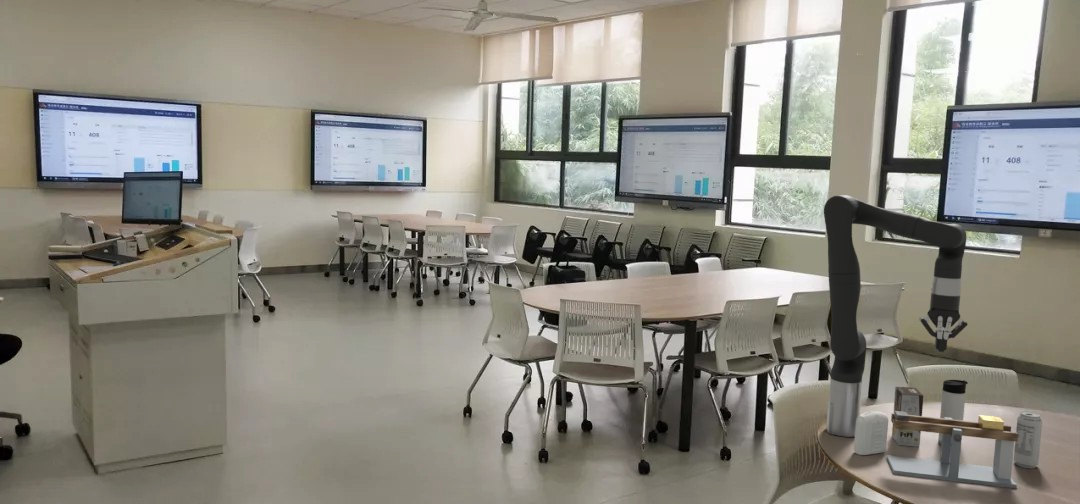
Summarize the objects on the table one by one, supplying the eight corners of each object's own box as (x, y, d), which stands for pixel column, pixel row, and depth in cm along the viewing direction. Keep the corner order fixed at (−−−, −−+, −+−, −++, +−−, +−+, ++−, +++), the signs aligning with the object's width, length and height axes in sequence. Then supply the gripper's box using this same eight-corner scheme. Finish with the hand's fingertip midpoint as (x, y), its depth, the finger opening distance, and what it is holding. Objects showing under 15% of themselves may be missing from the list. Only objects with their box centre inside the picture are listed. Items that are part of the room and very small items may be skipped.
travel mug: (965, 448, 234) (970, 384, 232) (941, 446, 236) (946, 382, 234) (958, 441, 240) (963, 378, 238) (935, 439, 242) (940, 376, 240)
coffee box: (920, 447, 235) (924, 395, 233) (897, 445, 236) (901, 394, 234) (912, 437, 243) (916, 387, 242) (890, 435, 245) (894, 385, 243)
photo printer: (876, 447, 233) (879, 407, 232) (888, 452, 230) (891, 411, 228) (851, 452, 229) (854, 411, 228) (862, 457, 225) (865, 415, 224)
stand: (893, 474, 213) (897, 425, 211) (886, 458, 225) (889, 411, 223) (1017, 489, 205) (1021, 437, 203) (1002, 471, 217) (1006, 422, 215)
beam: (895, 431, 214) (896, 416, 214) (890, 424, 221) (892, 409, 220) (1017, 445, 206) (1018, 429, 206) (1009, 436, 213) (1010, 421, 213)
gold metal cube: (981, 432, 210) (983, 419, 209) (977, 427, 214) (978, 415, 213) (1002, 435, 208) (1003, 422, 208) (997, 429, 212) (999, 417, 212)
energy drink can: (1043, 468, 220) (1048, 416, 218) (1026, 469, 218) (1031, 418, 217) (1024, 460, 226) (1029, 410, 224) (1008, 462, 224) (1012, 411, 223)
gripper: (923, 292, 223) (918, 351, 225) (974, 296, 220) (968, 356, 222) (918, 289, 230) (913, 346, 232) (967, 292, 227) (962, 350, 229)
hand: (940, 351), depth 227 cm, fingers closed
